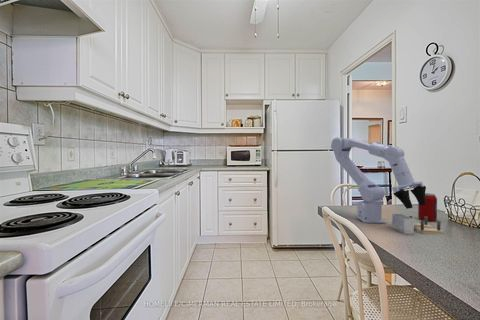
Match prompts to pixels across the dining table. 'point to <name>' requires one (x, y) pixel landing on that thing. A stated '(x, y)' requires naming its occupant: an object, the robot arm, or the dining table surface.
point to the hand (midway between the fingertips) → (416, 206)
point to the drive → (403, 223)
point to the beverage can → (428, 208)
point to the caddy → (427, 227)
